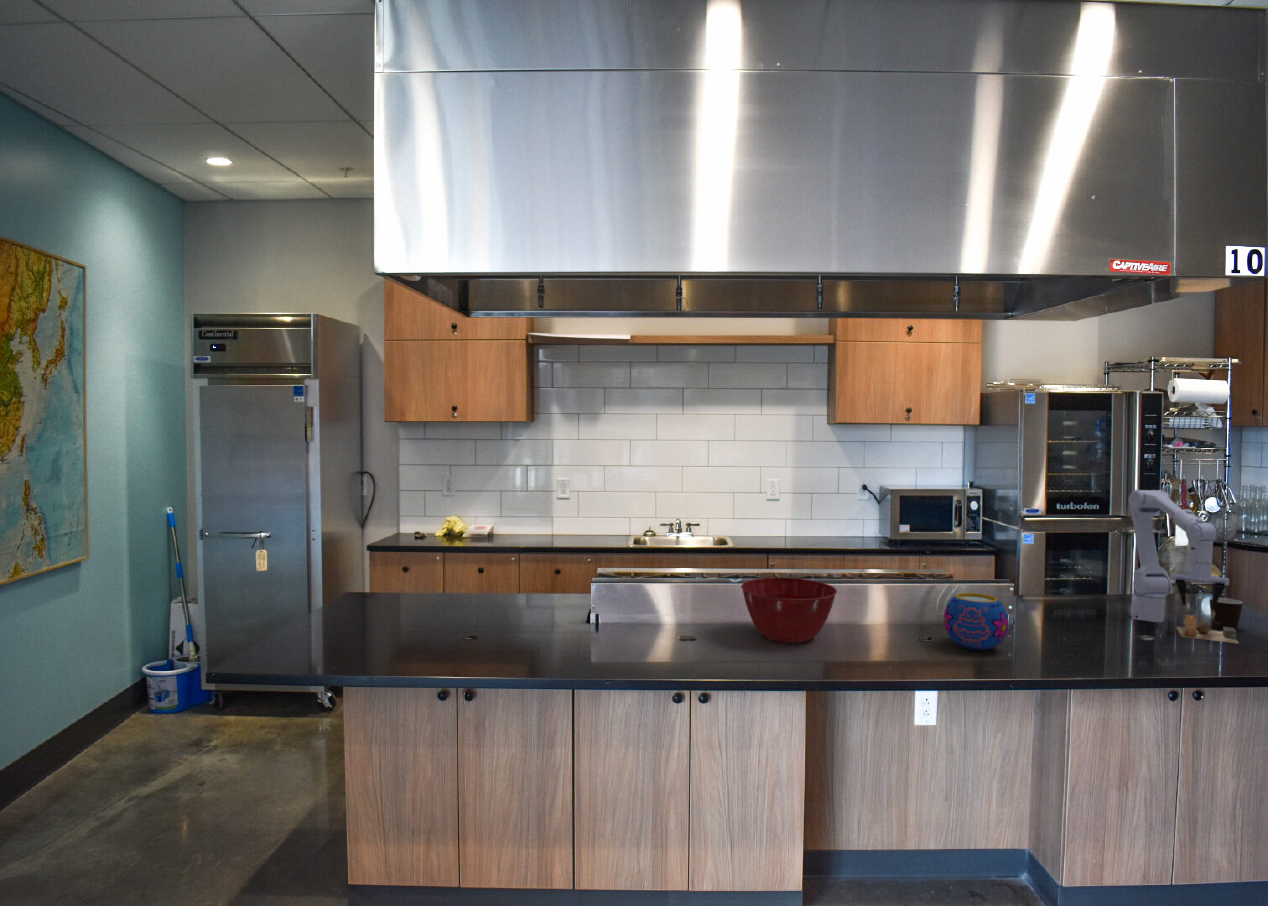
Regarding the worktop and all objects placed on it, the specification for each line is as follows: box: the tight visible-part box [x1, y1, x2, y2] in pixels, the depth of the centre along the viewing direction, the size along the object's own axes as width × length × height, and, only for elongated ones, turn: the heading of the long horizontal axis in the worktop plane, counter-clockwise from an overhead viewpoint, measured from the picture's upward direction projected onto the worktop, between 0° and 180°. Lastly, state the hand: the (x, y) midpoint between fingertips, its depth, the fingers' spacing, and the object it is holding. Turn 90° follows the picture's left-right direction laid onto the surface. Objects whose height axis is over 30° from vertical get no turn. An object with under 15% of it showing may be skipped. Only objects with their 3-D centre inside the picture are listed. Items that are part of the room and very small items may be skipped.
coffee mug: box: [1209, 597, 1243, 631], centre depth 263 cm, size 12×9×10 cm
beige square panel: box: [1176, 626, 1240, 644], centre depth 254 cm, size 14×14×3 cm
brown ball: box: [1197, 621, 1211, 634], centre depth 255 cm, size 4×4×4 cm
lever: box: [1183, 614, 1198, 637], centre depth 256 cm, size 14×3×6 cm, turn 147°
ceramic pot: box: [943, 592, 1009, 651], centre depth 240 cm, size 18×18×15 cm
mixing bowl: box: [740, 577, 838, 644], centre depth 248 cm, size 28×28×16 cm
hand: (1198, 605), depth 252 cm, fingers open, 7 cm apart
